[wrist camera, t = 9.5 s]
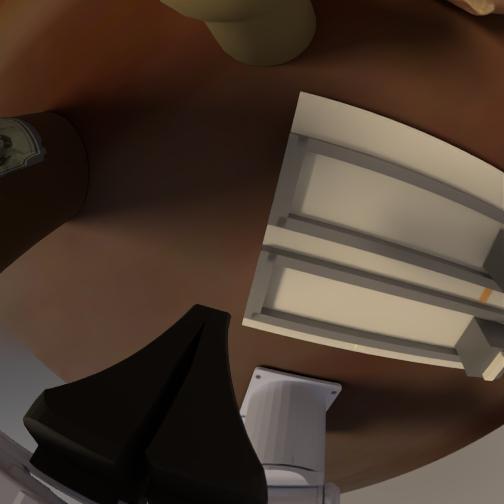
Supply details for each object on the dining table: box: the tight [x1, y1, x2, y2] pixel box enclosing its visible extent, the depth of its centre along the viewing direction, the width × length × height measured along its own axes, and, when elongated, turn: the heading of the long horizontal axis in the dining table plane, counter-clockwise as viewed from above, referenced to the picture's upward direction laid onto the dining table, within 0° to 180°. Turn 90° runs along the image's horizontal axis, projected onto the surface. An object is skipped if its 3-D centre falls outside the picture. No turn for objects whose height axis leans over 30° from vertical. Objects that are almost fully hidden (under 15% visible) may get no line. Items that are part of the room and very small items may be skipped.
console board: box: [242, 91, 504, 369], centre depth 18 cm, size 16×26×2 cm, turn 78°
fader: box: [455, 317, 504, 381], centre depth 18 cm, size 3×4×4 cm
